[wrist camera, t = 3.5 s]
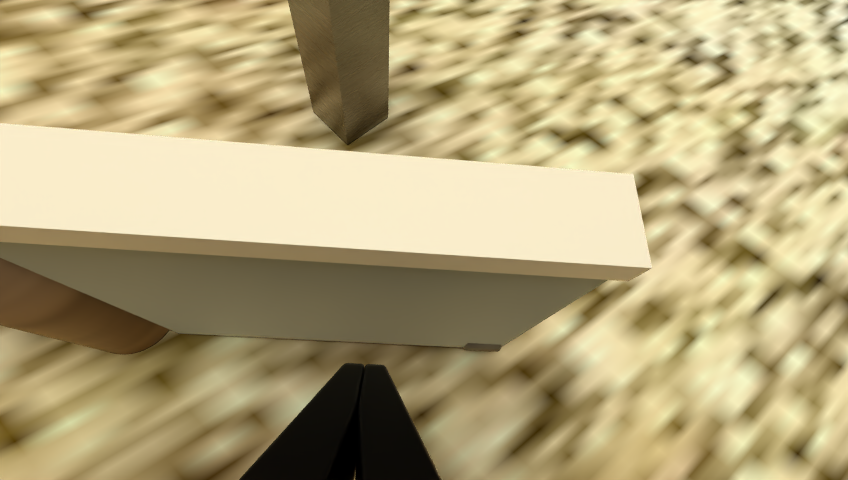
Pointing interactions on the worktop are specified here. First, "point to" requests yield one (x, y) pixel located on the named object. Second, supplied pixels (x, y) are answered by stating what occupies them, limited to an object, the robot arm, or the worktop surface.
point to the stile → (345, 61)
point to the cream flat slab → (312, 236)
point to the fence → (70, 314)
